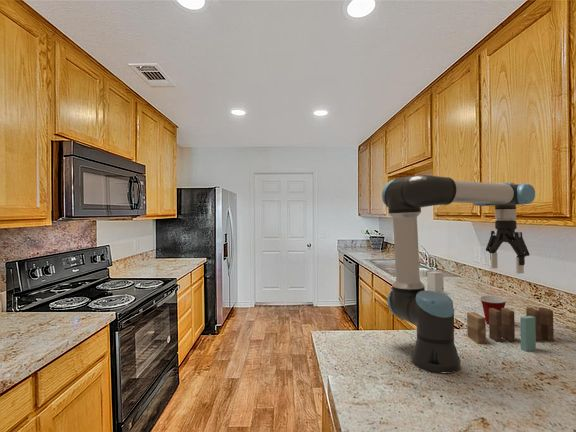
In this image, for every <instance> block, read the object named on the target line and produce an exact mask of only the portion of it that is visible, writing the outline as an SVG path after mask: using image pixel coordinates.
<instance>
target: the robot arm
mask: <svg viewBox="0 0 576 432" xmlns="http://www.w3.org/2000/svg"><path fill="white" fill-rule="evenodd" d="M535 189H536V188H535V187H534V186H533V185H532V184H530V183H519V184H516V183H514V182H498V183H496V182H480V181H478V182H477V181H465V180H454V179H453V178H451V177H449V176H448V177H447V176H438V175H437V176H436V175H429V174H415V175H410V176H404V177H398V178H394V179H392V180H390V181H388V182H387V183H386V184H385V185H384V187H383V190H382V193H381V199H382V202H383V205H385V207H387V209H388V211H387V212H388V215H389V216H390V217H391V218H392V222H393V223H392V226H393V244H394V245H393V248H394V263H395V265H394V267H395V281H394V282H393V283H392V284H391V289H390V290H389V292H388V294H387V297H386V302H387V307H388V309H389V310H390V312H391V314H393V315H394V316H396V317H397V318H399V319H401V320H404V321H406V322H408V323H410V324H412V325H414V326H415V327H416V340H415V344H414V348H413V351H412V352H411V362H412V364H413V365H414V366H416V367H417V366H418V367H417V368H420V369H421V368H422V369H421V370H424V369H425V370H424V371H427V370H428V372H431V371H432V372H431V373H436V372H453V371H456V372H458V371H460V369H461V359H460V357H459V353H458V350H457V347H456V345H455V309H454V302H453V300H452V298H451V297H450V296H449V295H447V294H445V293H444V294H443V293H440V292H434V291H427V290H426V288H425V284H424V283H423V282H422V281H421V277H420V274H421V273H420V257H419V256H420V254H419V253H420V252H419V234H418V216H419V215H420V214H421V213H422V208H427V207H432V206H448V205H450V204H452V203H457V204H458V203H461V204H464V203H465V204H472V205H474V206H477V207H493V206H494V219H495V221H494V222H495V223H494V228H495V229H496V230H490V237H489V239H488V242H487V245H486V248H485V251H486V252H488V253H489V261H490V269H498V252H497V251H498V250H499V248H500V247H501V245H502V243H508V244H509V245H510V247H511V248H512V249H513V251H514V253H515V254H516V257H515V269H516V270H515V273H516V274H518V275H519V274H524V273H525V270H524V268H525V264H526V263H525V262H526V259H525V258H526V257H529V256H530V252H529V250H528V247H527V245H526V242H525V240H524V238H523V232H522V231H515V230H516V229H518V228H517V220H516V219H517V206H519V205H522V206H523V205H530V204H531V203H533V202H534V201H535V198H536V190H535ZM457 370H458V371H457ZM453 373H454V372H453Z"/></svg>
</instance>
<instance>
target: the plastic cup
mask: <svg viewBox="0 0 576 432" xmlns="http://www.w3.org/2000/svg"><path fill="white" fill-rule="evenodd" d="M479 301H480V302H481V305H482V309H483V315H484V318H486V325H489V308H495V309H497V310H499V311H501V308H506V307H505V306H506V303H507V302H508V299H507V298H506V297H503V296H500V295H494V294H493V295H492V294H486V295H481V296H479Z"/></svg>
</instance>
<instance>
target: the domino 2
mask: <svg viewBox="0 0 576 432" xmlns="http://www.w3.org/2000/svg"><path fill="white" fill-rule="evenodd" d="M501 318H502V340H503V339H504V340H505V341H506V342H508V343H515V342H516V337H515V336H516V334H515V333H516V332H515V331H516V330H515V329H516V327H515V326H516V325H515V310H512V309H510V308H507V307H504V308H501Z"/></svg>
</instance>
